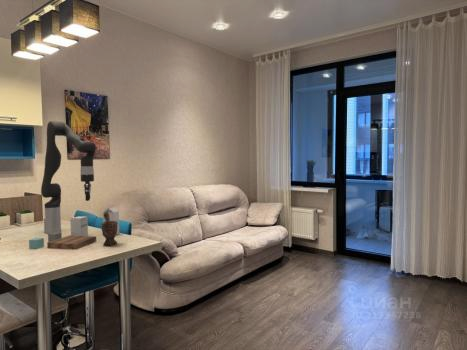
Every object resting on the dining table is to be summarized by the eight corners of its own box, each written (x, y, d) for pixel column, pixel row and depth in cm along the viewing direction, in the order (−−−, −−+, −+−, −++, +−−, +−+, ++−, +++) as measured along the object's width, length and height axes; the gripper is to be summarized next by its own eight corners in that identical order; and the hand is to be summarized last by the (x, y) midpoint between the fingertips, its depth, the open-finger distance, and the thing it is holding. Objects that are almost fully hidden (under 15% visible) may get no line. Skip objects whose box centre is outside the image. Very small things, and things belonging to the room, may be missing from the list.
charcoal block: (48, 242, 197) (48, 234, 197) (54, 240, 202) (54, 232, 202) (55, 242, 196) (55, 234, 196) (61, 240, 201) (61, 232, 201)
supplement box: (81, 238, 206) (80, 218, 205) (70, 238, 207) (69, 218, 207) (88, 235, 213) (87, 216, 212) (78, 235, 215) (77, 216, 214)
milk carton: (119, 233, 219) (118, 204, 218) (114, 235, 212) (113, 206, 211) (109, 233, 219) (108, 204, 218) (103, 235, 212) (102, 206, 211)
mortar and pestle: (119, 246, 185) (118, 211, 184) (103, 248, 181) (102, 212, 180) (116, 242, 195) (115, 208, 194) (101, 244, 191) (100, 209, 190)
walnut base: (47, 248, 184) (47, 242, 184) (69, 240, 201) (69, 235, 201) (75, 249, 180) (75, 244, 180) (96, 241, 198) (95, 236, 197)
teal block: (29, 248, 183) (28, 239, 183) (36, 246, 188) (36, 237, 188) (37, 249, 182) (36, 240, 182) (43, 246, 187) (43, 238, 187)
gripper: (81, 173, 209) (82, 198, 210) (79, 174, 195) (80, 201, 196) (94, 173, 211) (94, 198, 212) (93, 174, 198) (94, 201, 199)
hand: (88, 199), depth 204 cm, fingers open, 8 cm apart
